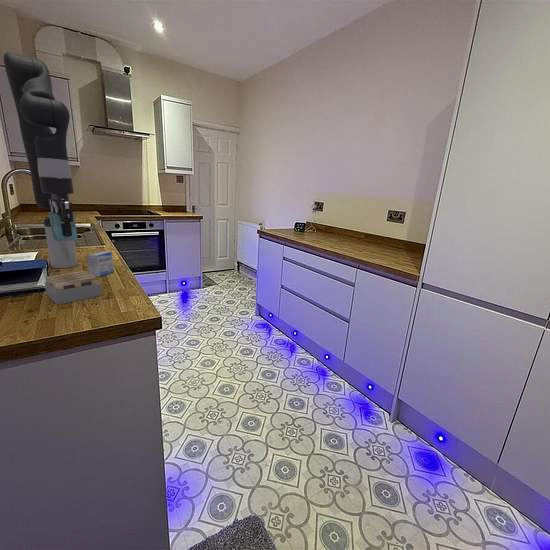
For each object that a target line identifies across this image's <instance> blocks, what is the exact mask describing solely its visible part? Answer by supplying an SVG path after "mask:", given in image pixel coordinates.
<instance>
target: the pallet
mask: <svg viewBox="0 0 550 550" xmlns="http://www.w3.org/2000/svg"><path fill="white" fill-rule="evenodd" d="M45 280H46V282H48V283H49V284H50V285H51V286H52V287H53V288H54V289H56V290H57V291H61V290H64V287H63V286H66V285H72V286H73V287H75V288H78V287H81V283H83V282H88V283H90V284H91V285H94V284H97V282H98V277H96V276H94V275H92V274H90V272H88V271H86V270H82V271H75V272H69V273H62V274H56V275H50V276H49V275H48V276H45Z"/></svg>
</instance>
